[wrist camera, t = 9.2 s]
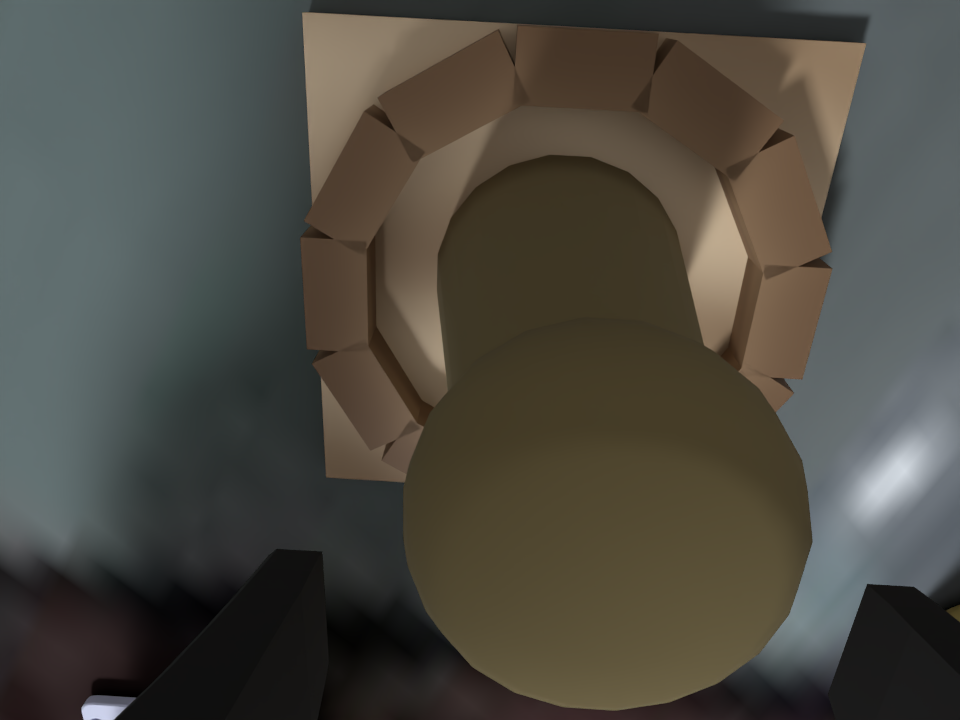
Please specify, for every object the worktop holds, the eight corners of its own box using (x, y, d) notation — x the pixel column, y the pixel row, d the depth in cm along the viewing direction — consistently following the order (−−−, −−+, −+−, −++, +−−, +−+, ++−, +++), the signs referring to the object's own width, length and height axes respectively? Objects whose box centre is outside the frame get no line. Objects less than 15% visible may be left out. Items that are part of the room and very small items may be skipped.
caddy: (743, 493, 21) (760, 531, 20) (330, 467, 21) (315, 503, 20) (855, 42, 16) (892, 46, 14) (308, 12, 16) (287, 12, 15)
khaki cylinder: (576, 96, 16) (679, 239, 6) (731, 289, 18) (1001, 635, 8) (385, 268, 18) (233, 586, 8) (543, 428, 20) (575, 845, 10)
